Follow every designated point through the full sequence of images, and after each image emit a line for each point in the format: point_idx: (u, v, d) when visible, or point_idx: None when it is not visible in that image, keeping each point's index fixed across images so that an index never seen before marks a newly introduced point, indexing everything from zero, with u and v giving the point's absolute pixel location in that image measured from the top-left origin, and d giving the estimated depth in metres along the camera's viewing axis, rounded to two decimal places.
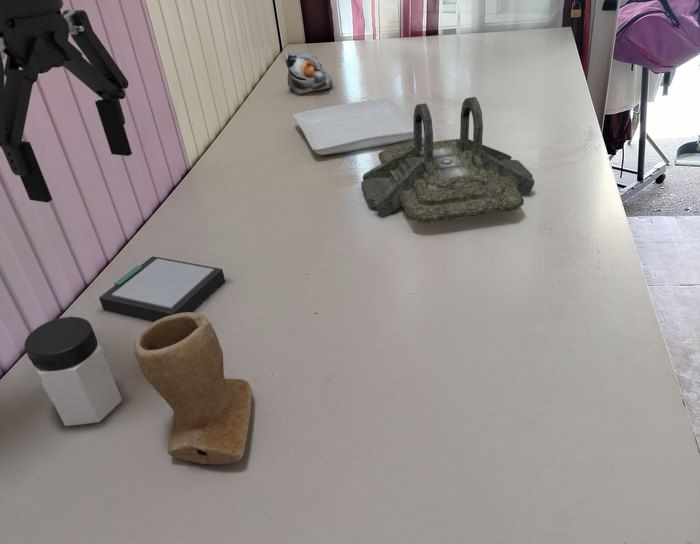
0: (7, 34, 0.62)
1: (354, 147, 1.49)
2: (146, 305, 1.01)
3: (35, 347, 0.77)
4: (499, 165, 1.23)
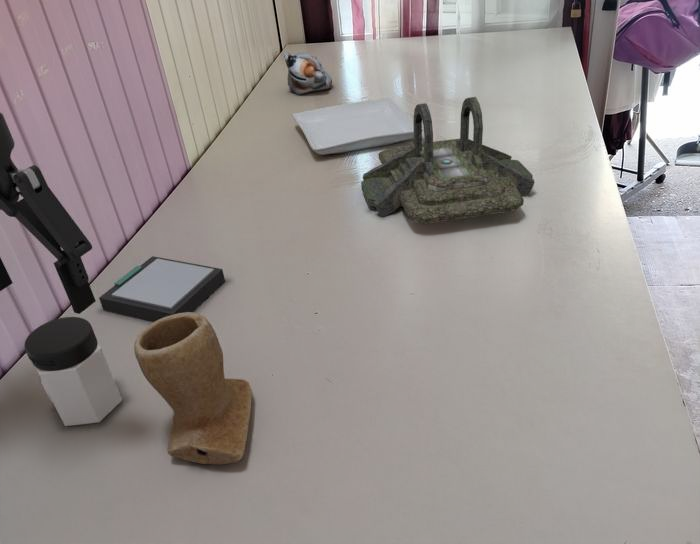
0: (15, 166, 0.65)
1: (354, 147, 1.49)
2: (146, 305, 1.01)
3: (35, 347, 0.77)
4: (499, 165, 1.23)
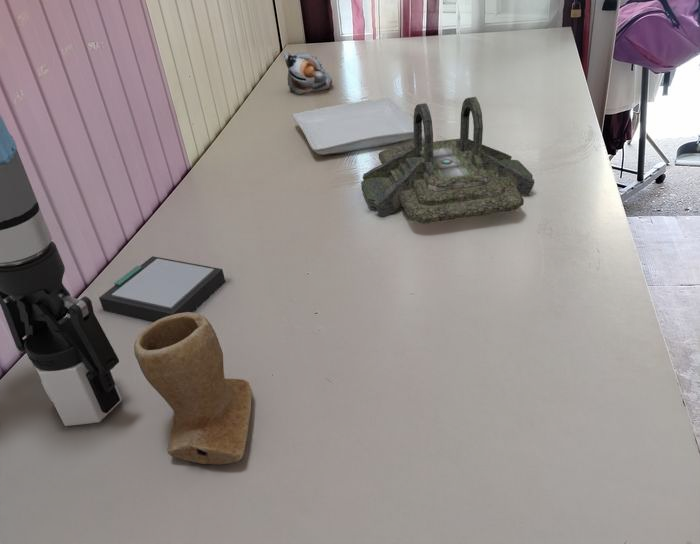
0: (65, 289, 0.74)
1: (354, 147, 1.49)
2: (146, 305, 1.01)
3: (35, 347, 0.77)
4: (499, 165, 1.23)
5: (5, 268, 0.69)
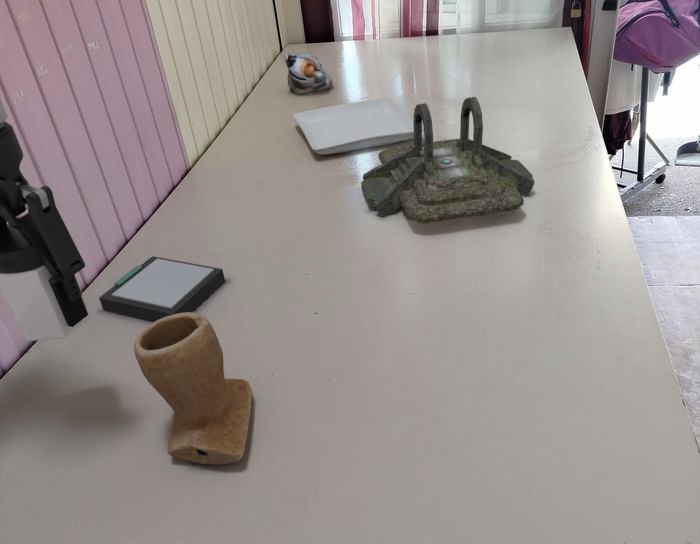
0: (23, 177, 0.66)
1: (354, 147, 1.49)
2: (146, 305, 1.01)
3: None
4: (499, 165, 1.23)
5: None
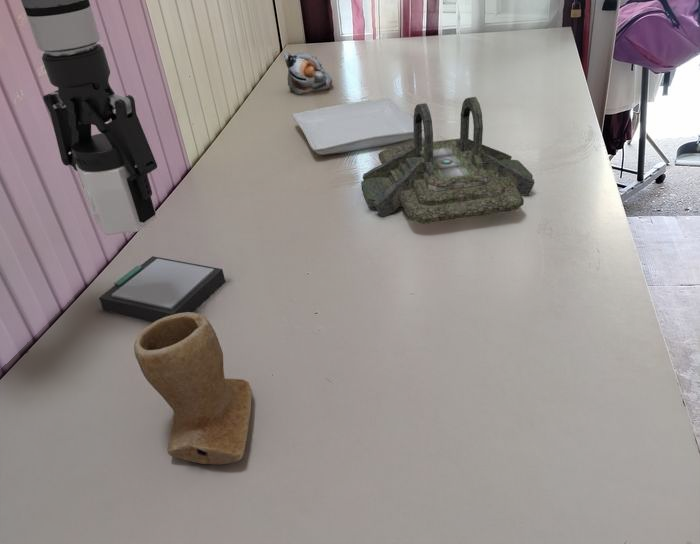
0: None
1: (354, 147, 1.49)
2: (146, 305, 1.01)
3: (81, 149, 0.85)
4: (499, 165, 1.23)
5: (59, 57, 0.77)
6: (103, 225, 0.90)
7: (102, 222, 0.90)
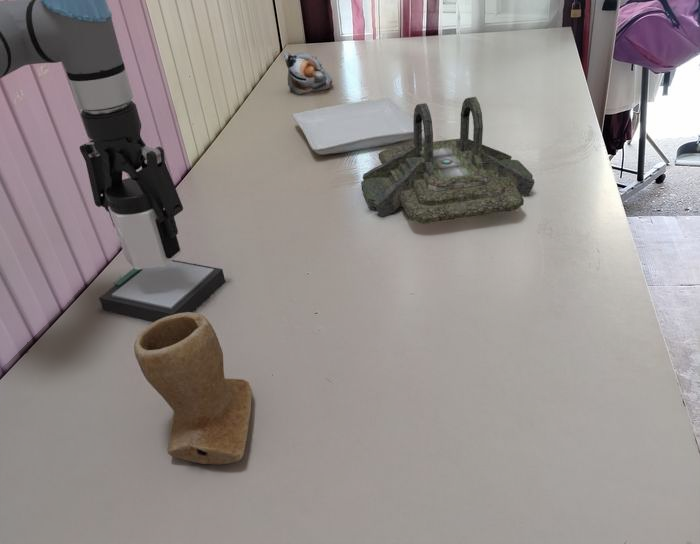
0: (142, 141, 0.90)
1: (354, 147, 1.49)
2: (146, 305, 1.01)
3: (114, 194, 0.93)
4: (499, 165, 1.23)
5: (97, 115, 0.85)
6: (133, 261, 0.98)
7: (132, 259, 0.98)
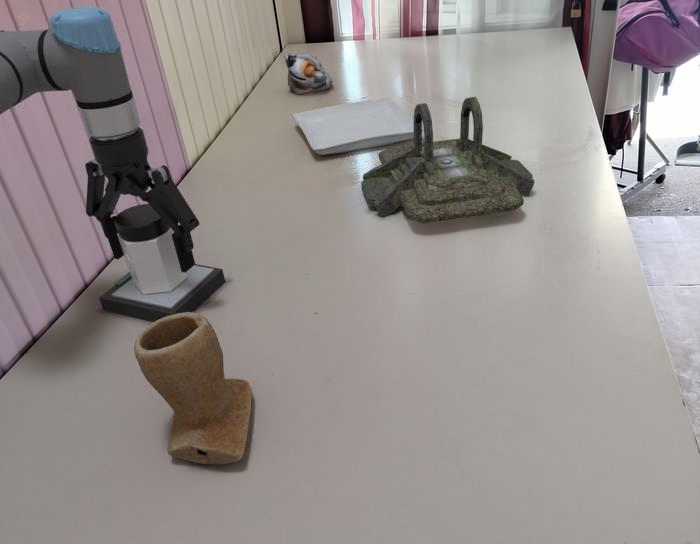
0: (149, 165, 0.92)
1: (354, 147, 1.49)
2: (146, 305, 1.01)
3: (124, 222, 0.96)
4: (499, 165, 1.23)
5: (106, 142, 0.88)
6: (141, 286, 1.01)
7: (140, 284, 1.01)
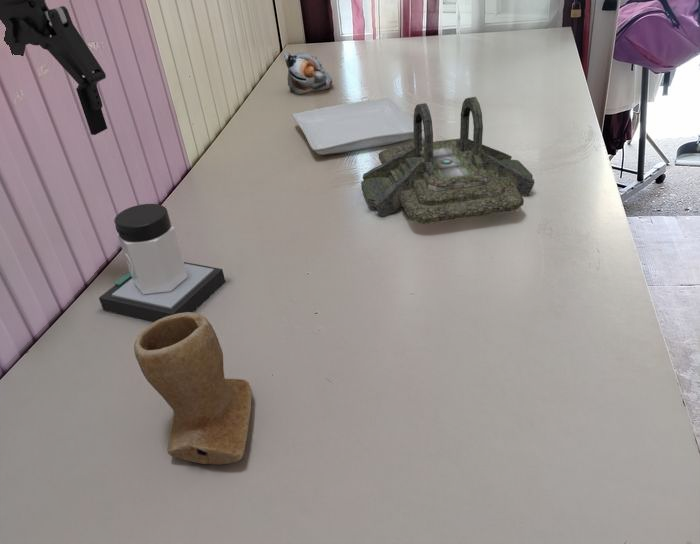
0: (48, 8, 0.86)
1: (354, 147, 1.49)
2: (146, 305, 1.01)
3: (124, 222, 0.96)
4: (499, 165, 1.23)
5: None
6: (141, 286, 1.01)
7: (140, 284, 1.01)
